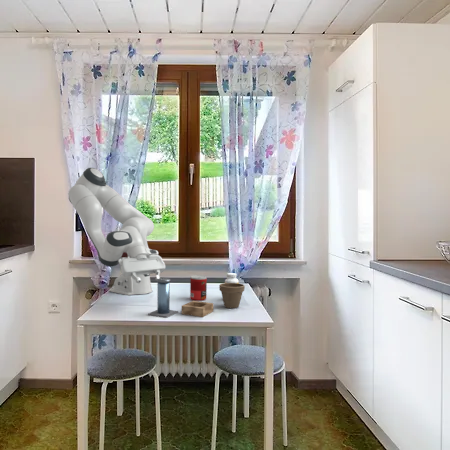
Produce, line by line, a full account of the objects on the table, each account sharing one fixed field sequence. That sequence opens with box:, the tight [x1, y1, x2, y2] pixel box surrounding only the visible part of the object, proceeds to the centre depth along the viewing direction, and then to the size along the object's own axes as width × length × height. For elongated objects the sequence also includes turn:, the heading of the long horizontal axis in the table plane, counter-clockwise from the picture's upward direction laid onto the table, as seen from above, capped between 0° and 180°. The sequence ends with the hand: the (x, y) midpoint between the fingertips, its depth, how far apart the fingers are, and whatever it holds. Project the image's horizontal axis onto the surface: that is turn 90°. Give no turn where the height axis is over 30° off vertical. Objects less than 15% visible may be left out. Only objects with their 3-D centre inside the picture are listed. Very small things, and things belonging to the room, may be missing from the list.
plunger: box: [156, 277, 171, 314], centre depth 166 cm, size 6×6×14 cm
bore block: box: [181, 300, 214, 318], centre depth 169 cm, size 10×10×4 cm
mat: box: [147, 309, 179, 319], centre depth 167 cm, size 9×9×1 cm
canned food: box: [189, 274, 208, 302], centre depth 194 cm, size 8×8×11 cm
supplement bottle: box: [224, 272, 240, 284], centre depth 193 cm, size 7×7×13 cm
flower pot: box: [218, 282, 246, 309], centre depth 180 cm, size 12×11×10 cm
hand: (148, 281), depth 174 cm, fingers open, 8 cm apart
